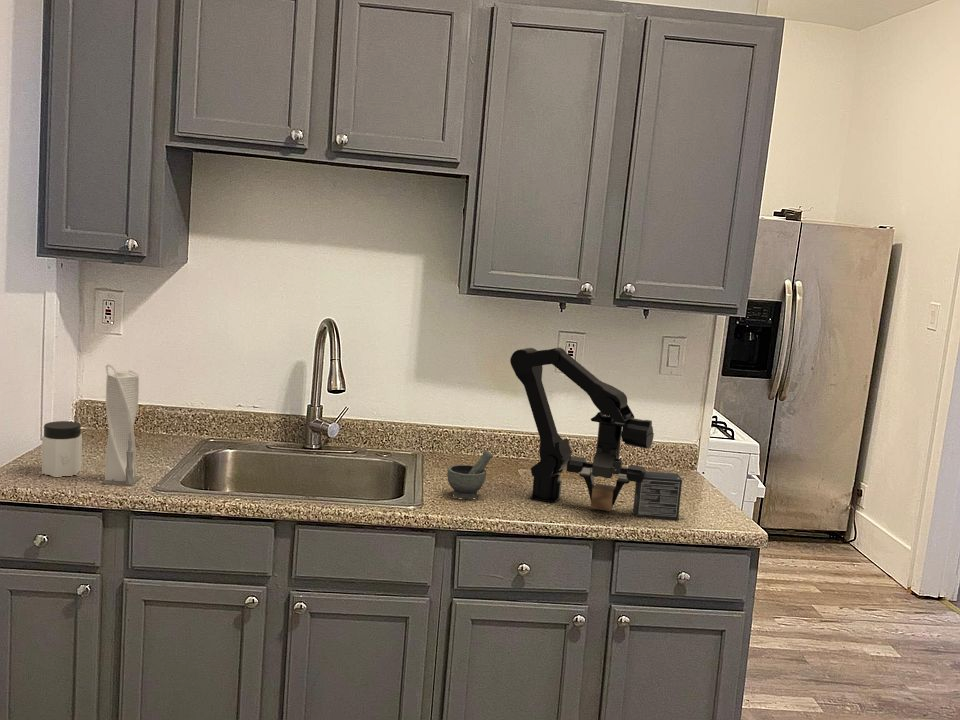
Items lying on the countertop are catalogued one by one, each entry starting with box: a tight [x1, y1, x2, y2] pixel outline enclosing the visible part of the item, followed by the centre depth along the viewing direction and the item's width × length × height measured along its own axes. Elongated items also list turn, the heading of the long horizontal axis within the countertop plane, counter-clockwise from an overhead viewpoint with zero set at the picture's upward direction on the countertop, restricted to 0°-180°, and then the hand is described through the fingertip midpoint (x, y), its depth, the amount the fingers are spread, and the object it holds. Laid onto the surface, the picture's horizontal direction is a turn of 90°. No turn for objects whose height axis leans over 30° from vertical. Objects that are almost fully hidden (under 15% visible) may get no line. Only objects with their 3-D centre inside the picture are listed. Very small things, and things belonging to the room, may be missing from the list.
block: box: [590, 483, 616, 512], centre depth 232 cm, size 5×5×5 cm
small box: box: [632, 470, 683, 521], centre depth 232 cm, size 11×6×10 cm, turn 89°
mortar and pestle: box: [446, 449, 494, 500], centre depth 235 cm, size 11×9×12 cm
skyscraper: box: [101, 364, 143, 487], centre depth 223 cm, size 8×8×28 cm
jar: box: [41, 420, 83, 476], centre depth 226 cm, size 9×8×12 cm
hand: (602, 502), depth 232 cm, fingers closed on block, 5 cm apart
